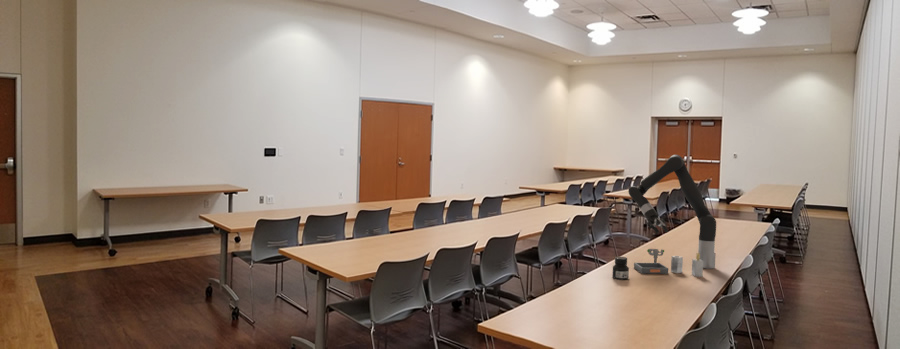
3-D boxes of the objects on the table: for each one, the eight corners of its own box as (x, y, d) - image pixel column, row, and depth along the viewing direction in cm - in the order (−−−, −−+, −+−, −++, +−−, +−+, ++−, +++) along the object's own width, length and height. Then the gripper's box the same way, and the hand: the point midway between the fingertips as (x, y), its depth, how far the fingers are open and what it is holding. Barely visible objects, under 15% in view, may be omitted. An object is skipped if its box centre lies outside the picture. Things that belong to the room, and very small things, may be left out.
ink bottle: (617, 280, 322) (617, 259, 321) (608, 276, 331) (609, 256, 330) (632, 279, 325) (632, 259, 324) (623, 275, 333) (624, 255, 333)
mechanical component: (664, 265, 361) (664, 249, 361) (647, 265, 362) (648, 249, 361) (662, 264, 364) (663, 248, 364) (646, 264, 365) (647, 248, 364)
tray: (659, 268, 353) (659, 262, 353) (668, 274, 339) (668, 268, 338) (633, 268, 353) (634, 262, 353) (641, 273, 339) (641, 268, 338)
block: (675, 270, 347) (676, 255, 346) (682, 272, 343) (682, 257, 343) (670, 271, 345) (671, 256, 344) (677, 273, 341) (677, 257, 340)
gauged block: (699, 274, 338) (700, 252, 337) (702, 276, 334) (703, 254, 333) (691, 274, 338) (692, 252, 337) (694, 276, 334) (696, 254, 333)
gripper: (644, 208, 359) (658, 229, 350) (660, 207, 366) (674, 228, 357) (637, 216, 364) (651, 236, 355) (653, 214, 371) (666, 235, 362)
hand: (662, 232), depth 356 cm, fingers open, 8 cm apart
